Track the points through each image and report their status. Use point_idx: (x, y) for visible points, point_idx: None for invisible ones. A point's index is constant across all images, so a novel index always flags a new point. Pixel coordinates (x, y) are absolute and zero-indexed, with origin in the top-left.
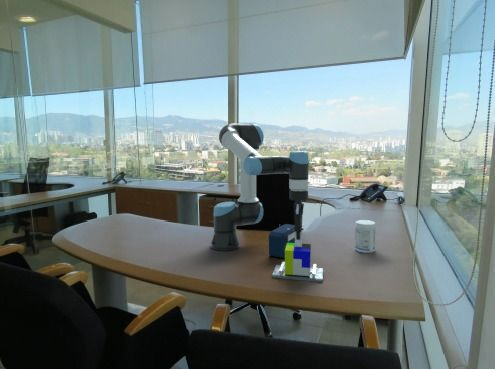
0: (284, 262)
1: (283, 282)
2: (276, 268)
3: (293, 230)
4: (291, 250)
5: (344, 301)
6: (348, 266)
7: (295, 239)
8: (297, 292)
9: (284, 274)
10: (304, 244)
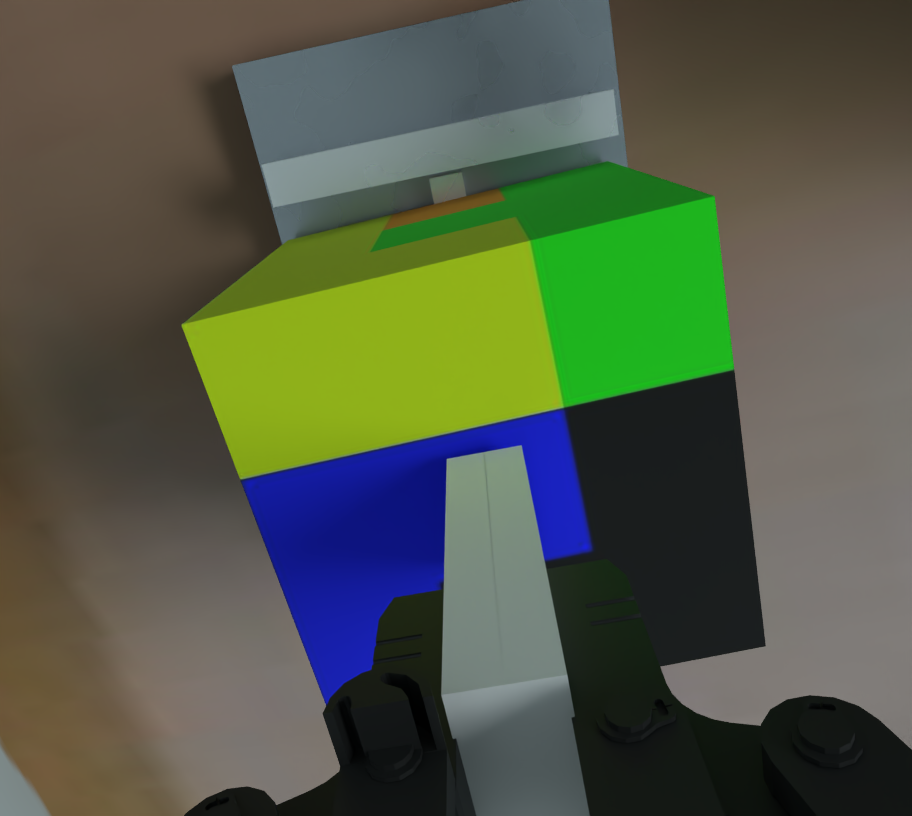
0: (588, 131)
1: (185, 255)
2: (462, 42)
3: (328, 715)
4: (240, 445)
5: (126, 795)
6: None
7: (446, 553)
8: (51, 457)
9: (315, 224)
10: (703, 559)
